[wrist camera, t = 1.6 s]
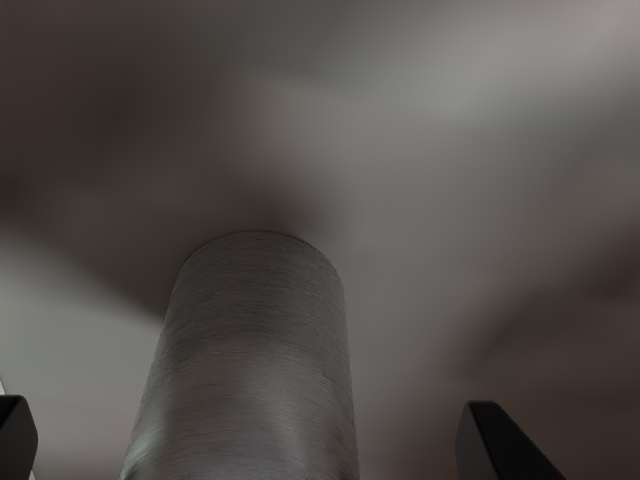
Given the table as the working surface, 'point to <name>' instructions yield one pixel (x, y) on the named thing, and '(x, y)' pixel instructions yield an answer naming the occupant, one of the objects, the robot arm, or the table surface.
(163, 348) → the pin
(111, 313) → the table surface
